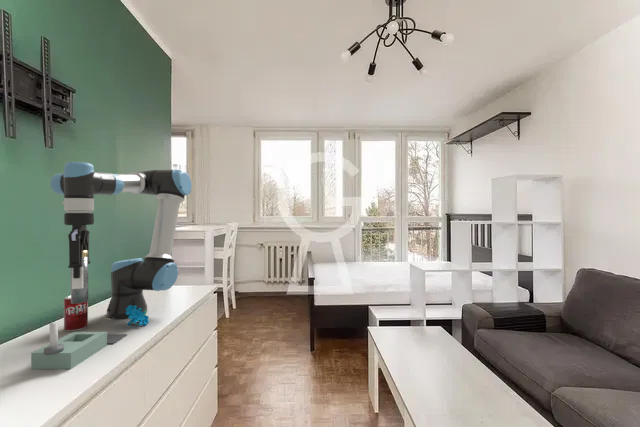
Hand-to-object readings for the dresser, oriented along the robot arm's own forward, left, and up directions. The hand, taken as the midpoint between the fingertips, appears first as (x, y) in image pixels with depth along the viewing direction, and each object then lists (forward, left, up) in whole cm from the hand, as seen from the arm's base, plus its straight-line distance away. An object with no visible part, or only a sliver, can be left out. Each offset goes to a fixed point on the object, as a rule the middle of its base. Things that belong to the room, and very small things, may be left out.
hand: (79, 286), depth 104 cm
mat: (-10, +3, -21) cm, 23 cm away
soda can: (-21, -16, -21) cm, 33 cm away
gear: (-25, +5, -21) cm, 33 cm away
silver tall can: (0, 0, -5) cm, 5 cm away
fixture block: (+3, 0, -21) cm, 21 cm away
